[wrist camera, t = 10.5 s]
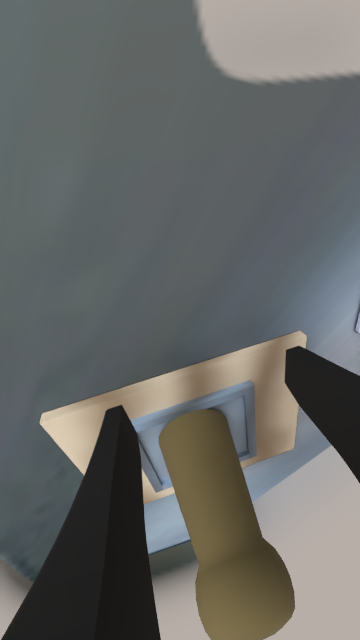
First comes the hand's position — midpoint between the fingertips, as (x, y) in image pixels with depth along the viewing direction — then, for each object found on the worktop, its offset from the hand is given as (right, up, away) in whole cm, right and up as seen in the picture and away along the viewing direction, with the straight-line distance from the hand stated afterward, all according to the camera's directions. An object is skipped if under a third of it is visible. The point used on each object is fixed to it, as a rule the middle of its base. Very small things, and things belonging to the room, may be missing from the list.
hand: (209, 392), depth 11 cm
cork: (0, -6, +10) cm, 12 cm away
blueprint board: (0, -7, +12) cm, 14 cm away
